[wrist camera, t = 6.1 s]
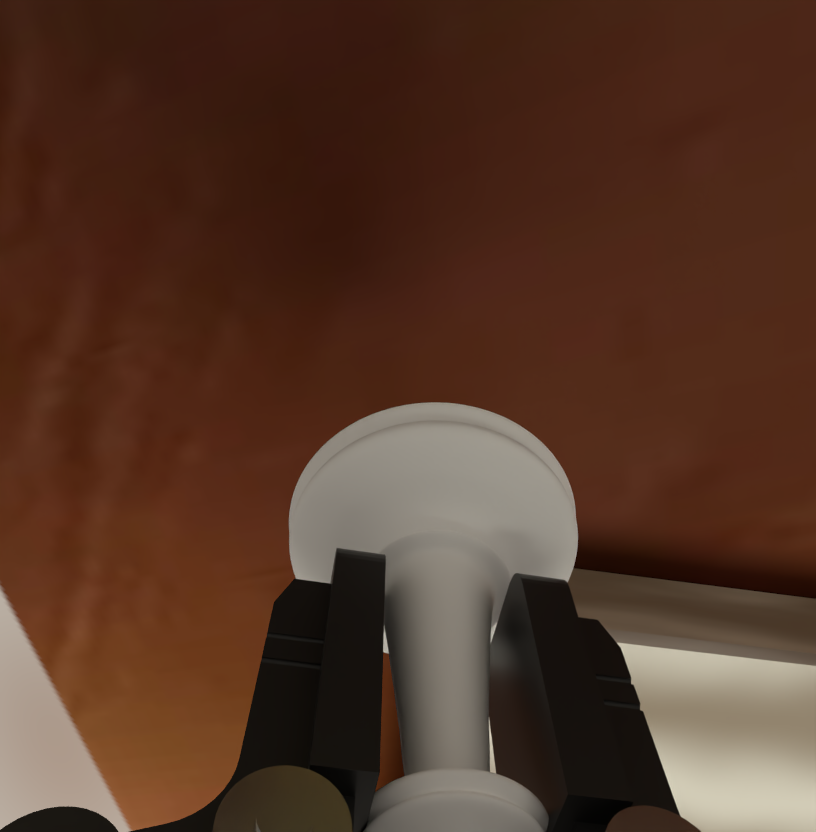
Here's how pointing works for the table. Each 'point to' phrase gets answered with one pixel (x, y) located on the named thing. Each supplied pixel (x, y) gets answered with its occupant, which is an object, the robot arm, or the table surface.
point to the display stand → (718, 694)
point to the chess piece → (440, 586)
